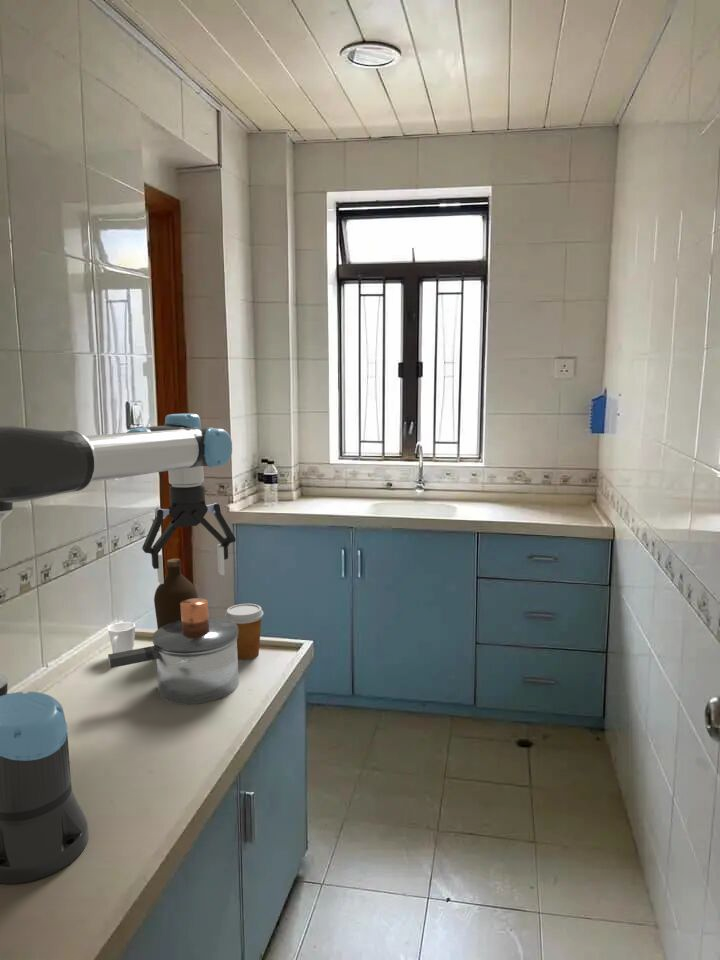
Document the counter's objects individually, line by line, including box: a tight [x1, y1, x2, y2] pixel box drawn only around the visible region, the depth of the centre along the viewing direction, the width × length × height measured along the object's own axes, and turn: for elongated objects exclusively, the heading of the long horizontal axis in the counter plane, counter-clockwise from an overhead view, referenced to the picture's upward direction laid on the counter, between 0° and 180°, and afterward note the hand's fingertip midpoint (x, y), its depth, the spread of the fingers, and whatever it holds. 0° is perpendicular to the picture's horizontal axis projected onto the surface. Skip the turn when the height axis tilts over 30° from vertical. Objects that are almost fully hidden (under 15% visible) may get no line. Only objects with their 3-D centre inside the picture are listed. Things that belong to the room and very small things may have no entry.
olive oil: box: [153, 558, 199, 630], centre depth 179 cm, size 11×11×25 cm
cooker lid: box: [152, 597, 238, 653], centre depth 161 cm, size 19×19×8 cm
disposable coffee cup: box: [224, 603, 264, 660], centre depth 180 cm, size 10×10×12 cm
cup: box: [107, 621, 136, 654], centre depth 179 cm, size 7×10×8 cm
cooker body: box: [107, 636, 240, 705], centre depth 160 cm, size 28×19×12 cm, turn 116°
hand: (191, 578), depth 159 cm, fingers open, 13 cm apart
